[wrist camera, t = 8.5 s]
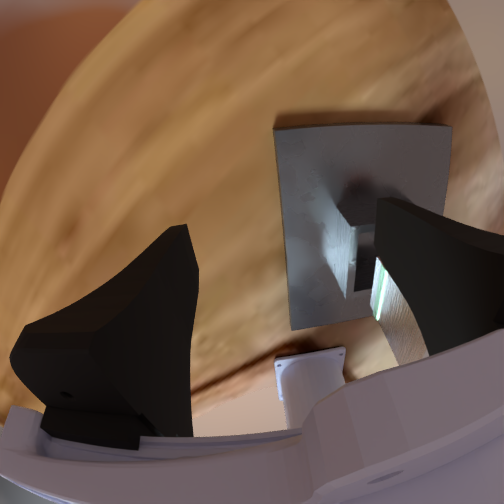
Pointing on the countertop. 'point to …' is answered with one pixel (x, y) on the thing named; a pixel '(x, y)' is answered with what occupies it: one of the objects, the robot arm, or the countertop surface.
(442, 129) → the jack base
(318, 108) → the countertop surface
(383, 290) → the grooved grey block
